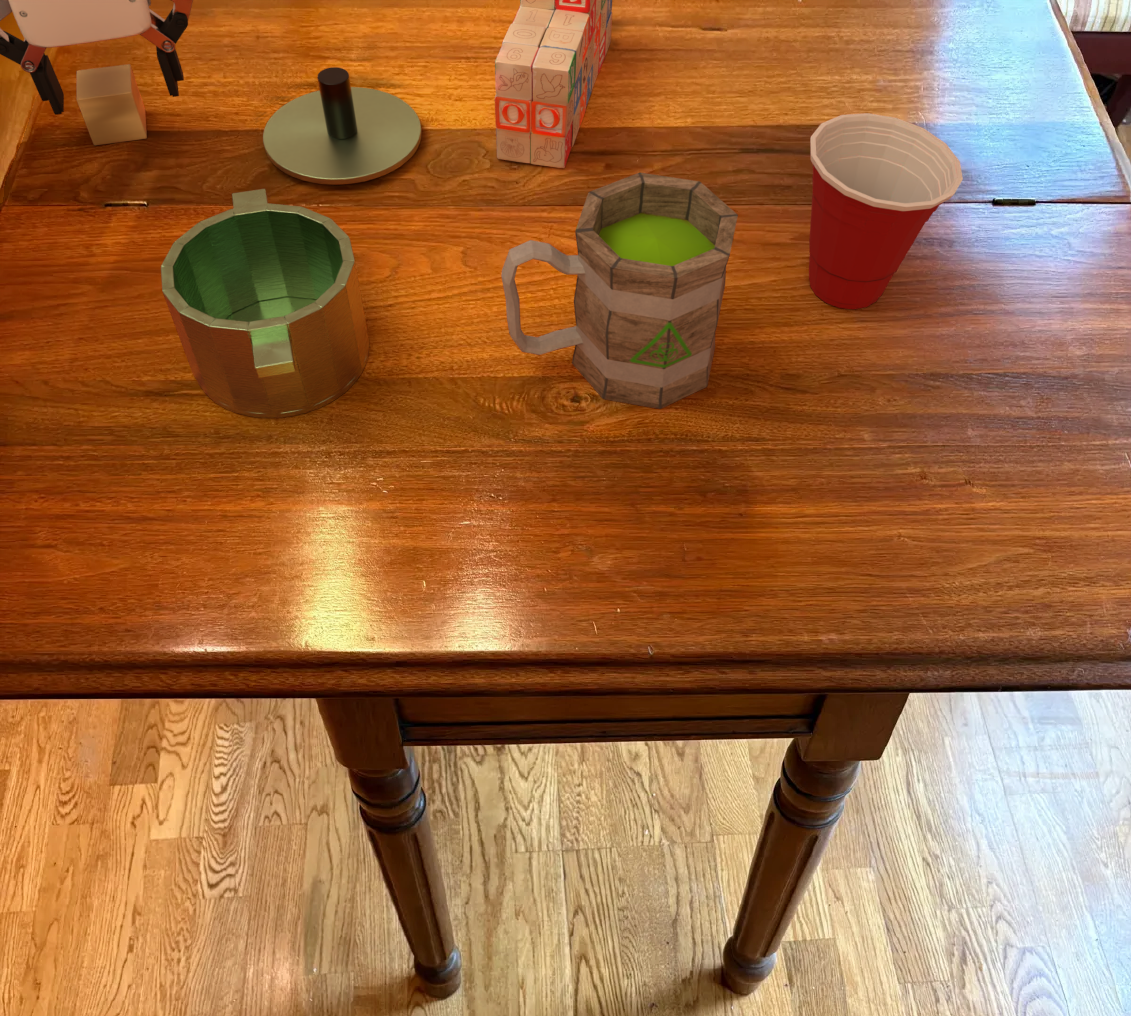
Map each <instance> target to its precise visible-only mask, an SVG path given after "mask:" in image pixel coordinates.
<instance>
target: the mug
mask: <svg viewBox="0 0 1131 1016" xmlns="http://www.w3.org/2000/svg"><path fill="white" fill-rule="evenodd" d="M738 216H739V214H737V213H736V212H735V211H734V210H733V209H732V208H731V207H730V206H729V205H728V204H726V203H725V202H724V201H723V200H722V199H721V198H720V197H718V196H717V195H716V194H715V193H714V192H713V191H711V190H710V189H709V188H708V187H707V186H706V185H705V184H704V183H702V182H701V181H700V180H692V179H687V178H686V179H685V178H679V177H673V176H667V175H661V174H652V173H646V172H637V173H635V174H632V175H629V176H626V177H624V178H621V179H618V180H617V181H616V180H615V181H614V182H611V183H609V184H606V185H604V186H601V187H598V188H595V189H593V190H591V191H588V192H587V195H586V199H585V202H584V204H583V206H582V210H581V213H580V216H579V218H578V222H577V225H576V228H575V231H574V232H575V239H576V250H577V254H570V255H569V254H565V253H564V252H562V251H560V250H559V249H557V248H556V247H554V246H553V245H552V244H551V243H549V242H543V241H538V240H532V239H529V240H527V241H525V242H523V243H521V244H519V245H516V246H514V247H512V248H509V249H508V253H507V255H506V257H505V260H504V263H503V266H502V269H501V281H502V287H503V292H504V298H505V309H506V311H505V312H506V321H507V328H508V335H509V336H510V338H511V339H512V341H513V342H514V343H515V345H516V347H518V349H519V350H520V352H521V353H524V354H525V353H526V354H532V355H535V356H541V355H545V354H547V353H551V352H554V351H558V350H561V349H566V348H571V347H574V350H573V355H572V360H571V364H572V365H573V366H574V368H575V369H576V370H577V372H578V373H580V375H581V376H582V377H583V379H585V380H586V381H587V383H588V384H589V385H590V386H591V387H592V388H593V389H594V390H595V392H596V393H597V394H598V395H599V396H600V397H601V399H602V400H608V401H612V402H618V403H624V404H628V405H629V404H630V405H635V406H641V407H647V408H653V409H659V410H661V409H663V408H666V407H667V406H669V405H672V404H674V403H676V402H678V401H681V400H682V399H684V398H687V397H689V396H691V395H693V394H695V393H697V392H699V391H702V390H703V389H705V388H707V387H708V386H709V380H710V375H711V370H712V364H713V361H714V354H715V350H716V331H717V327H718V322H719V318H720V313H721V308H722V303H723V299H724V294H725V288H726V280H727V279H726V278H727V265H728V262H729V259H730V255H731V251H732V246H733V242H734V241H733V240H734V235H735V232H736V226H737V221H738ZM531 260H536V261H539V262H544V263H547V264H549V265H550V266H551V267H553V268H554V269H555V270H556V271H558V272H559V273H562V274H563V275H566V276H567V275H568V276H569V275H570V276H571V275H573V276H575V275H576V276H577V277H576V282H575V290H574V296H573V308H574V309H573V310H574V316H575V318H574V319H575V325H574V326H570V327H566V328H562V329H558V330H557V329H556V330H553V331H550V332H548V333H545V334H543V335H540V336H532V335H527V334H525V333H524V332H523V330H522V325H521V306H520V304H521V303H520V295H519V291H518V287H517V284H516V280H515V278H516V274H517V270H518V266H520V265H523V264H525V263H527V262H530V261H531Z"/></svg>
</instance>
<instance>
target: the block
mask: <svg viewBox="0 0 1131 1016" xmlns="http://www.w3.org/2000/svg"><path fill="white" fill-rule="evenodd" d="M75 73H76V78H75V79H76V81H75V82H76V83H75V84H76V85H75V86H76V90H75V91H76V93H75V94H76V95H75V96H76V97H75V100H76V102H77V106H78V108H79V111H80V113H81V116H82V118H83V122H84V123H85V126H86V129H87V131H88V134H89V137H90V139H91V142H92V144H93V146H101V145H110V144H117V143H124V142H131V141H140V140H146V139H148V132H147V131H148V130H147V115H146V114H147V113H146V108H145V105H144V101H143V98H142V95H141V92H140V90H139V86H138V83H137V81H136V78H135V74H134V71H133V68H132V65H131V64H130V63H126V64H119V65H111V66H110V65H109V66H103V67H95V68H87V69H79V70H76V72H75Z"/></svg>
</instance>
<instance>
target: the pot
mask: <svg viewBox="0 0 1131 1016" xmlns="http://www.w3.org/2000/svg"><path fill="white" fill-rule="evenodd" d="M231 199H232V207H233V208H230V209H227V210H224V211H223V212H219V213H217V214H214V215H212V216H209V217H207V218H206V219H203V220H200V221H199V222H197V223H196V224H194V225H193V226H192V227H190V228H189V229H188V230H187V231H186V232H184V233H183V234H182V235H181V236H180V237H178V238H177V239H176V240H174V242H173V243H172V245H171V247H170V248H169V250H168V252H167V254H166V255H165V257H164V259H163V261H162V263H161V265H160V277H161V279H160V280H161V291H162V294H163V297H164V300H165V302H166V305H167V307H168V310H169V313H170V316H171V318H172V321H173V324H174V327H175V329H176V332H177V335H178V338H179V340H180V343H181V346H182V349H183V352H184V354H185V356H186V359H187V362H188V364H189V367H190V371H191V372H192V375H193V378H194V379H195V380H196V382H197V384H198V385H199V387H200V389H201V391H203V393H204V394H205V395H206V396H207V397H208V399H210V400H212V401H213V402H214V403H215V404H216V405H218V406H220V407H221V408H223V409H225V410H228V411H230V412H232V413H235V414H239V415H241V416H245V417H250V418H251V417H252V418H258V419H281V418H288V417H294V416H298V415H303V414H306V413H309V412H312V411H316V410H318V409H320V408H322V407H325V406H327V405H328V404H331V403H332V402H334V401H336V400H337V399H338V398H340V397H341V396H343V395H344V394H345V393H346V392H347V391H349V390H350V389H351V388H352V387H353V386H354V385H355V383H356V382H357V381H358V380H359V378H360V377H361V375H362V374H363V372H364V370H365V368H366V365H367V363H368V359H369V355H370V347H371V345H370V344H371V343H370V338H369V332H368V327H367V321H366V315H365V309H364V304H363V299H362V298H363V297H362V293H361V288H360V281H359V276H358V275H359V274H358V270H357V264H356V260H355V255H354V250H353V246H352V242H351V238H350V236H349V235H348V234H347V233H346V232H345V231H344V230H343V229H342V228H341V227H340V226H339V225H338V224H337V223H336V222H335V221H334V220H333V219H332V218H330V217H328V216H326V215H323V214H321V213H319V212H316V211H314V210H312V209H309V208H306V207H304V206H301V205H289V204H279V203H271V202H270V203H269V198H268V195H267V190H266V188H260V189H259V188H258V189H253V190H247V191H239V192H233V193H231Z"/></svg>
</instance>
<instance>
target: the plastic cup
mask: <svg viewBox="0 0 1131 1016" xmlns="http://www.w3.org/2000/svg"><path fill="white" fill-rule="evenodd" d="M809 145H810V162H811V163H812V176H811V177H812V181H811V183H812V184H811V185H812V192H811V193H812V194H811V210H810V225H809V238H808V239H809V241H808V242H809V244H808V245H809V246H808V247H809V252H808V253H809V259H808V260H809V261H808V280H809V287H810V289H811V290H812V292H813V293H814V295H815V296H816V297H817V298H819V299H820V300H821V301H822V302H824V303H825V304H827V305H830V306H833V307H834V308H838V309H846V310H858V309H864V308H868V307H870V306H872V305H873V304H875V303H876V302H878V300H879V298H881V297H882V295H883V294H884V292H885V291H886V289H887V287H888V285H889V284H890V282H891V280H892V278H893V276H894V274H895V273H897V271H898V269H899V268H900V266H901V264H902V263H903V261H904V259H905V258H906V256H907V255H908V253H909V251H910V249H911V248H912V246H913V244H914V242H915V241H916V239H917V238H918V236H919V234H920V232H921V230H922V229H923V228H924V226H925V224H926V223H927V222H929V220H930V219H931V217H932V215H933V213H935V212H936V211H937V210H938V208H939V207H940V205H943V203H944V202H947V201H948V200H950V199H951V198H952V197H954V195H955V193H956V192H957V191H958V188H959V186H961V184H962V182H963V180H964V178H963V172H962V167H961V161H960V160H959V159H958V157H957V156H956V154H955V153H954V151H952V149H951V148H950V147H949V145H948V144H947V143H946V142H945V141H943V140H941V139H940V138H938V136H936V135H934V134H933V133H931V132H930V131H928V130H927V129H926V128H924V127H921V126H919V125H917V124H913V123H911V122H908V121H906V120H903V119H901V118H898V117H894V116H890V115H889V116H888V115H883V114H882V115H881V114H876V113H871V112H870V113H869V112H863V113H849V114H841V115H838V116H835V117H833V118H830V119H828V120H826V121H824V122H821V123H820V124H819V125H818V127H817V128H816V130H814V132H813V133H812V135H810V142H809Z"/></svg>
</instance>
